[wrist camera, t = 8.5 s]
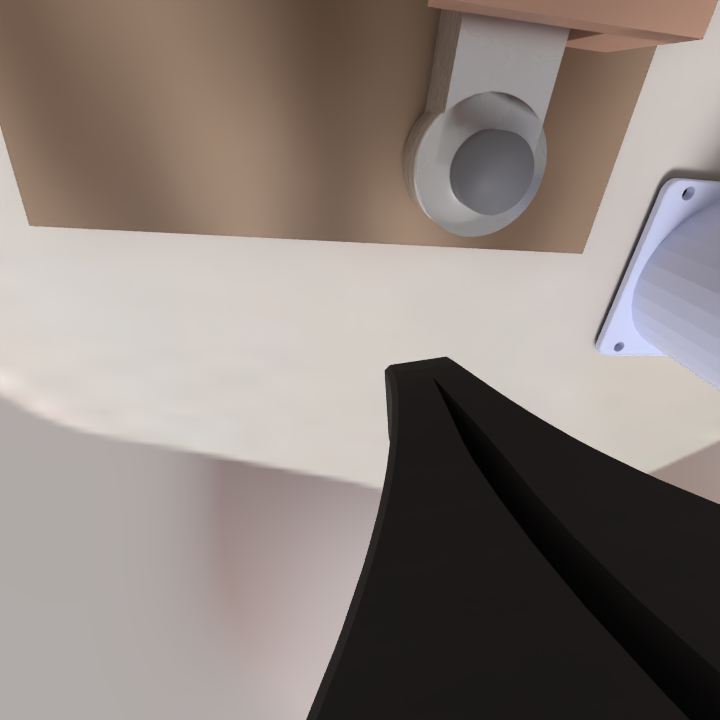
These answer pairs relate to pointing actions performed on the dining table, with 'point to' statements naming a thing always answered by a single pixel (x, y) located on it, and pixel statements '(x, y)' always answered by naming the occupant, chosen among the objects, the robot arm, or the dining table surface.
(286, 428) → the dining table surface
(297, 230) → the base plate
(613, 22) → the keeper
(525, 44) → the link
